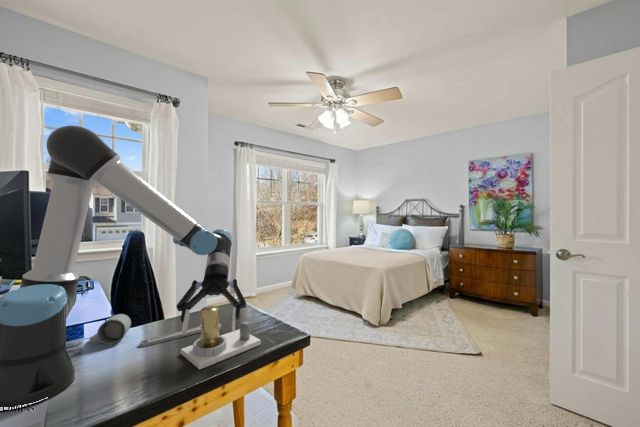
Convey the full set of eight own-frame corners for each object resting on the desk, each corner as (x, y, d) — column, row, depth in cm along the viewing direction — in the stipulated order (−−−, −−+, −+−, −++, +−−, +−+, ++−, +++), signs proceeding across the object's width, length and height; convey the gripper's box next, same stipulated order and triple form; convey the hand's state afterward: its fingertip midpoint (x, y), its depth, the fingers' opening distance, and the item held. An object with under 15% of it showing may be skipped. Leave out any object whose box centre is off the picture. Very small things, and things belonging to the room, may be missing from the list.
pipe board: (199, 369, 77) (199, 345, 77) (180, 353, 85) (181, 332, 85) (260, 344, 92) (261, 324, 92) (239, 333, 100) (240, 314, 100)
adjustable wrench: (139, 349, 88) (139, 343, 88) (138, 341, 93) (138, 336, 93) (222, 330, 103) (222, 325, 103) (217, 324, 108) (217, 319, 108)
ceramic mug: (132, 332, 99) (132, 310, 99) (125, 342, 91) (125, 318, 91) (95, 336, 95) (95, 313, 95) (85, 348, 88) (84, 323, 88)
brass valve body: (197, 354, 82) (197, 312, 82) (201, 344, 88) (201, 305, 87) (218, 352, 83) (219, 311, 83) (221, 343, 89) (221, 304, 89)
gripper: (254, 274, 103) (253, 333, 88) (180, 276, 98) (165, 339, 83) (254, 262, 98) (252, 323, 83) (175, 263, 92) (159, 328, 78)
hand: (209, 331), depth 83 cm, fingers open, 13 cm apart
